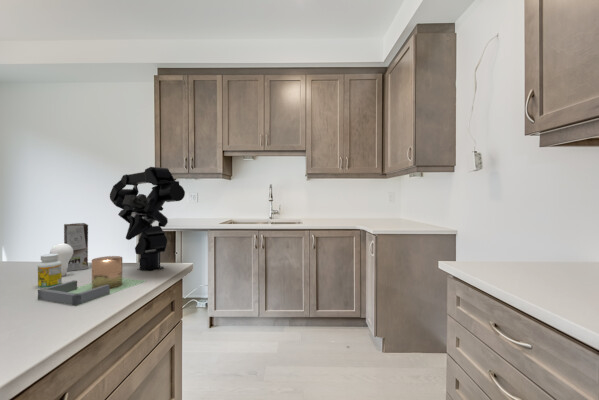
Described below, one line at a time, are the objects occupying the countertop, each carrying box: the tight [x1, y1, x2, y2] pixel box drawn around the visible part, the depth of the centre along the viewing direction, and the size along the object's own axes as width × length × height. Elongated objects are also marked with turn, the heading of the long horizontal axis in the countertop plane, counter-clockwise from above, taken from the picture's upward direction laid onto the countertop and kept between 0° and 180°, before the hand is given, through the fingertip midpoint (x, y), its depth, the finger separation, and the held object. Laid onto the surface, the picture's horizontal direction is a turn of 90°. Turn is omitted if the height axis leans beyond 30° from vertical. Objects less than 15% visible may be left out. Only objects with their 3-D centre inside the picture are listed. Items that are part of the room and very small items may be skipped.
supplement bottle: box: [37, 253, 63, 289], centre depth 89 cm, size 5×5×10 cm
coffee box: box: [63, 222, 89, 272], centre depth 111 cm, size 9×6×16 cm
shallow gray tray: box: [37, 279, 111, 307], centre depth 80 cm, size 9×13×2 cm
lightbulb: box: [49, 242, 73, 278], centre depth 100 cm, size 6×6×11 cm
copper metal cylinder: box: [91, 255, 123, 289], centre depth 89 cm, size 8×8×8 cm
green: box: [37, 277, 147, 307], centre depth 86 cm, size 22×14×1 cm, turn 163°
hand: (127, 239), depth 96 cm, fingers closed
